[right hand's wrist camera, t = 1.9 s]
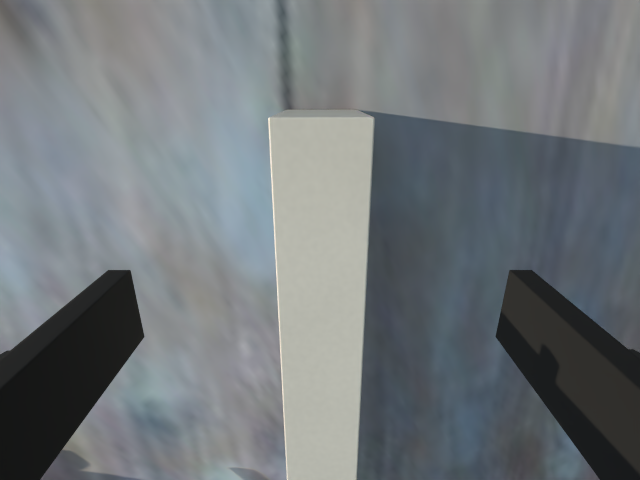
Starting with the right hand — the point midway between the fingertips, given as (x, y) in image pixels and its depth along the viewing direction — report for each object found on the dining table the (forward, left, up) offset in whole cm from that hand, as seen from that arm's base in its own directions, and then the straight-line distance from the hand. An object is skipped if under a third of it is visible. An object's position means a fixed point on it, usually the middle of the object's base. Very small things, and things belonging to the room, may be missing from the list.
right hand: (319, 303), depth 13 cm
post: (+14, +25, -15) cm, 32 cm away
